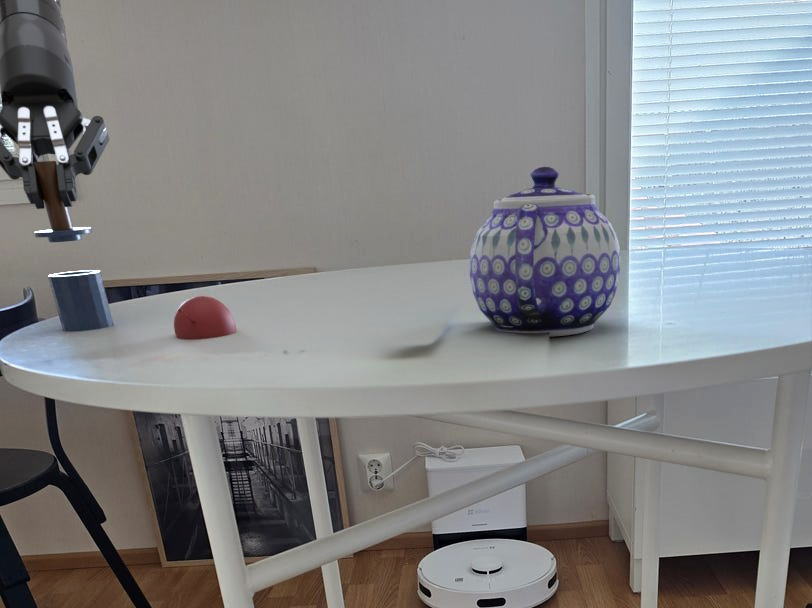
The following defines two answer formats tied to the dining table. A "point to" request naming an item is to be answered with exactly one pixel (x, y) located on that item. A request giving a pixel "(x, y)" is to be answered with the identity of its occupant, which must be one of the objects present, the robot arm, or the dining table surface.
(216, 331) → the fruit
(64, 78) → the robot arm
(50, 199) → the peg on round base
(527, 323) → the teapot
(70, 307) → the tin
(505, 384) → the dining table surface
